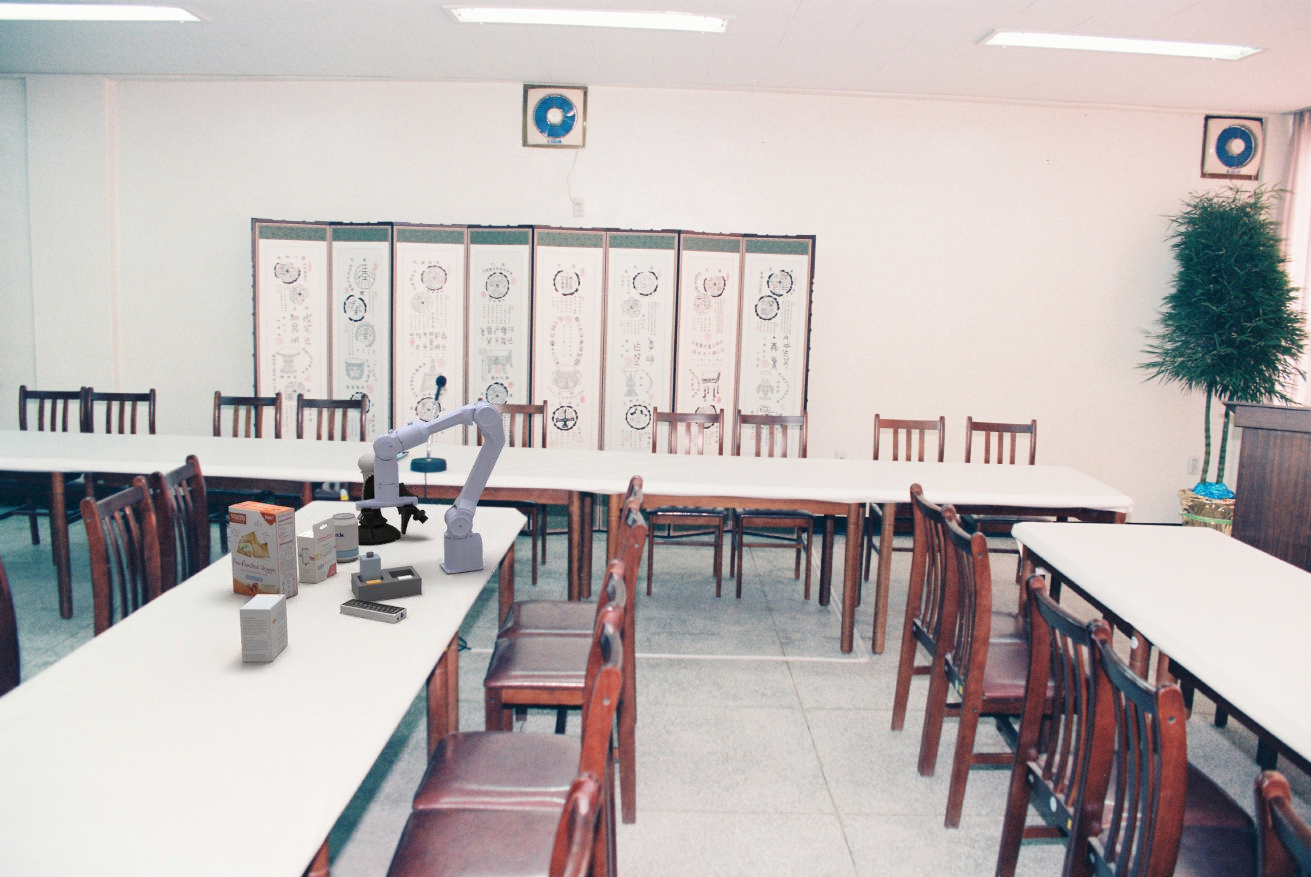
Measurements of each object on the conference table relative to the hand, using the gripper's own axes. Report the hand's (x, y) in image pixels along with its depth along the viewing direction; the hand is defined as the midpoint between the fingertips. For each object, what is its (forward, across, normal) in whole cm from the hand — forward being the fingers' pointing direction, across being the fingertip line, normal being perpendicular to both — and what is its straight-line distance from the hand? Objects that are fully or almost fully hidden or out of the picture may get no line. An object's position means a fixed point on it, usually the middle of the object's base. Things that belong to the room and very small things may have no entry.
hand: (387, 535), depth 193 cm
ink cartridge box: (+10, +16, -4) cm, 19 cm away
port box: (+10, +3, +13) cm, 17 cm away
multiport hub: (+10, +8, +26) cm, 29 cm away
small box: (+10, +30, +37) cm, 49 cm away
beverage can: (+10, +8, -16) cm, 21 cm away
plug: (+9, +6, +13) cm, 17 cm away
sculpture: (+10, -6, -31) cm, 33 cm away
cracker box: (+10, +28, +3) cm, 30 cm away
